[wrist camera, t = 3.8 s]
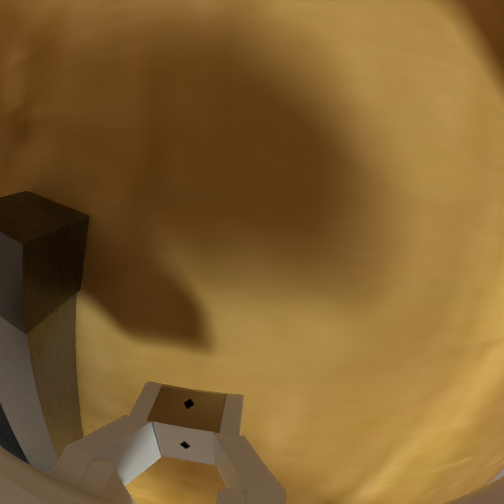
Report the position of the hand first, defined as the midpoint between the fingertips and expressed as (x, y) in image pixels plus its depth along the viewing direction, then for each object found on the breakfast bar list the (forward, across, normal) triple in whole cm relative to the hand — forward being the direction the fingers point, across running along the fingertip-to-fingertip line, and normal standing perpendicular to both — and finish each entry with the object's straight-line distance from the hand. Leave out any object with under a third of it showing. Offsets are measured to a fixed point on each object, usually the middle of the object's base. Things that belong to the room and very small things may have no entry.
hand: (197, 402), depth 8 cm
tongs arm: (+2, +9, +5) cm, 10 cm away
